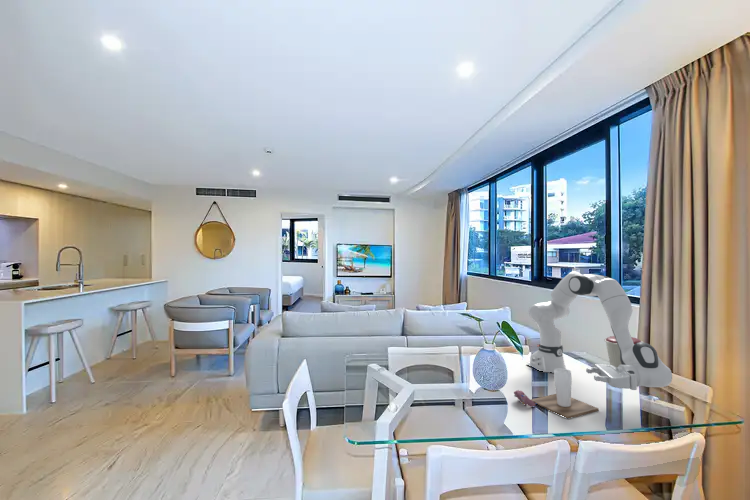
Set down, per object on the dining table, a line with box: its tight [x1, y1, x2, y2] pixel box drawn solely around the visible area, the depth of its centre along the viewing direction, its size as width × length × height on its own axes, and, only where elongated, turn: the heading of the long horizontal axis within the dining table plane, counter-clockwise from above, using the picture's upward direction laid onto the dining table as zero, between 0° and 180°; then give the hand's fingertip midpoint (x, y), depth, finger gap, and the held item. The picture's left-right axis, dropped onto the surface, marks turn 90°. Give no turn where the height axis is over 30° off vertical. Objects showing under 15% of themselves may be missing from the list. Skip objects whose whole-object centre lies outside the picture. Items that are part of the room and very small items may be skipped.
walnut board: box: [530, 393, 600, 419], centre depth 160 cm, size 20×18×1 cm
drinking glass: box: [553, 368, 573, 407], centre depth 158 cm, size 7×7×15 cm
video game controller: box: [513, 389, 536, 407], centre depth 164 cm, size 10×5×7 cm, turn 6°
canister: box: [604, 335, 644, 367], centre depth 203 cm, size 18×18×21 cm
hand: (590, 374), depth 158 cm, fingers open, 8 cm apart
